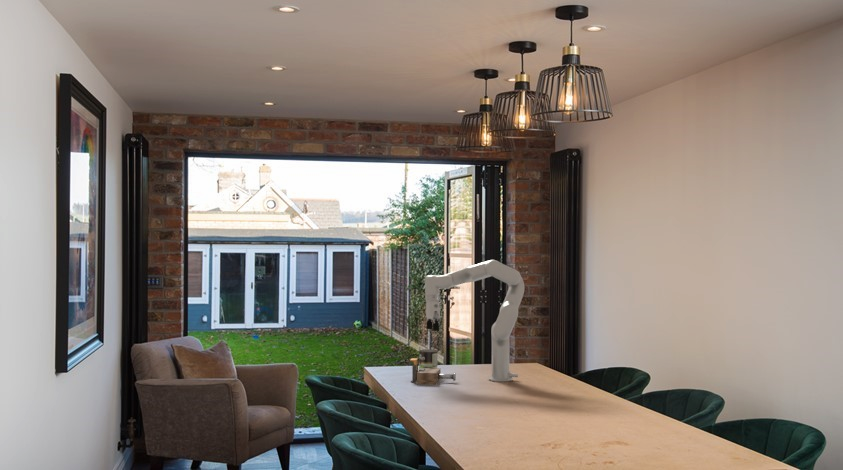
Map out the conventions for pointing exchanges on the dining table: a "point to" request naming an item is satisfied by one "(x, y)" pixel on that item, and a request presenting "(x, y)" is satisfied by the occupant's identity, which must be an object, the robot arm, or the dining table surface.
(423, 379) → the block
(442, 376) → the pin
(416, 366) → the plate
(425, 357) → the coffee can
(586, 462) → the dining table surface
